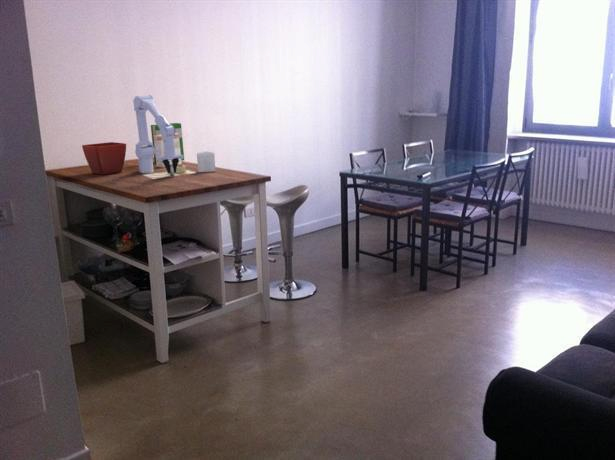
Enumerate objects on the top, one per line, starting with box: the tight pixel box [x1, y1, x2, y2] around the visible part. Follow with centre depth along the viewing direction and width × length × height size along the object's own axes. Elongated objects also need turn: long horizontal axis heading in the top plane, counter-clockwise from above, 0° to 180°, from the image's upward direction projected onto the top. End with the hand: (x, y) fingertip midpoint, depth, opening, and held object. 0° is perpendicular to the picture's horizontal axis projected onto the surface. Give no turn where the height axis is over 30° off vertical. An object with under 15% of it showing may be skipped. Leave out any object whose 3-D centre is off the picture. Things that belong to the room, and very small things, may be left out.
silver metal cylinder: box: [169, 164, 175, 177], centre depth 331 cm, size 3×3×6 cm
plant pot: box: [81, 141, 127, 176], centre depth 353 cm, size 19×19×17 cm
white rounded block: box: [196, 149, 216, 173], centre depth 342 cm, size 10×4×12 cm, turn 126°
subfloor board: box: [142, 169, 197, 180], centre depth 337 cm, size 18×26×1 cm
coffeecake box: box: [154, 133, 183, 168], centre depth 372 cm, size 15×7×20 cm, turn 144°
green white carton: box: [150, 122, 185, 163], centre depth 390 cm, size 18×7×24 cm, turn 126°
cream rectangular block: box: [174, 164, 187, 174], centre depth 340 cm, size 5×8×4 cm, turn 124°
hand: (171, 172), depth 331 cm, fingers closed on silver metal cylinder, 3 cm apart
